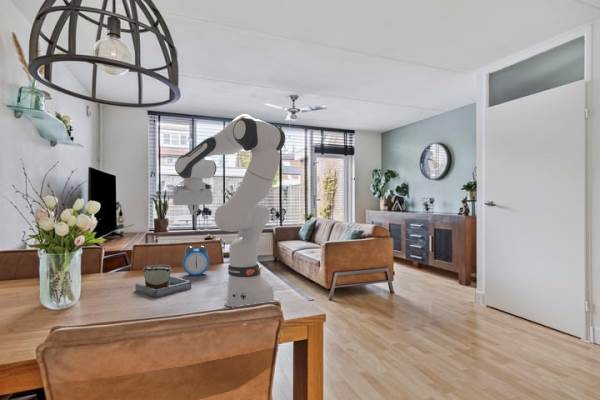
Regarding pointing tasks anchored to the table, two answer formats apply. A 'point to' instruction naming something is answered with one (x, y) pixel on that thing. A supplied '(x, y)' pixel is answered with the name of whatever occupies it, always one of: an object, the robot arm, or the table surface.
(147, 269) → the food container
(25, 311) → the table surface
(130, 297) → the table surface
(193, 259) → the alarm clock
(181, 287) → the metal dock
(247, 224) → the robot arm
